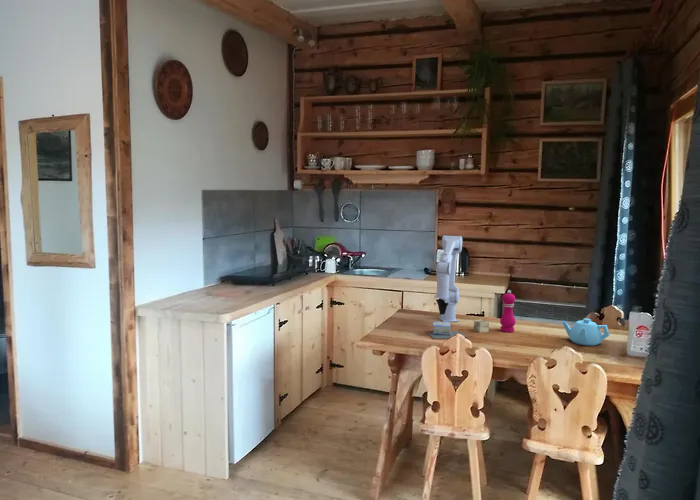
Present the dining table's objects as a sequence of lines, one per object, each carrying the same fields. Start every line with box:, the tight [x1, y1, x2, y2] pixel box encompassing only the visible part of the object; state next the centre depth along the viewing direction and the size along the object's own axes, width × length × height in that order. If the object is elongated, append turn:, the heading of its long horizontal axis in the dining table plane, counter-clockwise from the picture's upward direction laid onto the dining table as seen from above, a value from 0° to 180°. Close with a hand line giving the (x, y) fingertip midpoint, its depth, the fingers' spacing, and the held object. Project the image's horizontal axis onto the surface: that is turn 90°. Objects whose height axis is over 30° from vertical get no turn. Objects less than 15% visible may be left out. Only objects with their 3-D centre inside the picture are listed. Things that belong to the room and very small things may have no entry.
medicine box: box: [432, 320, 452, 335], centre depth 260 cm, size 8×4×9 cm
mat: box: [427, 330, 468, 340], centre depth 257 cm, size 10×16×1 cm, turn 98°
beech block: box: [473, 319, 490, 334], centre depth 265 cm, size 5×5×5 cm
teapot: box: [561, 317, 610, 347], centre depth 247 cm, size 15×15×11 cm
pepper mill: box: [499, 289, 516, 333], centre depth 265 cm, size 7×7×20 cm
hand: (442, 314), depth 267 cm, fingers closed
